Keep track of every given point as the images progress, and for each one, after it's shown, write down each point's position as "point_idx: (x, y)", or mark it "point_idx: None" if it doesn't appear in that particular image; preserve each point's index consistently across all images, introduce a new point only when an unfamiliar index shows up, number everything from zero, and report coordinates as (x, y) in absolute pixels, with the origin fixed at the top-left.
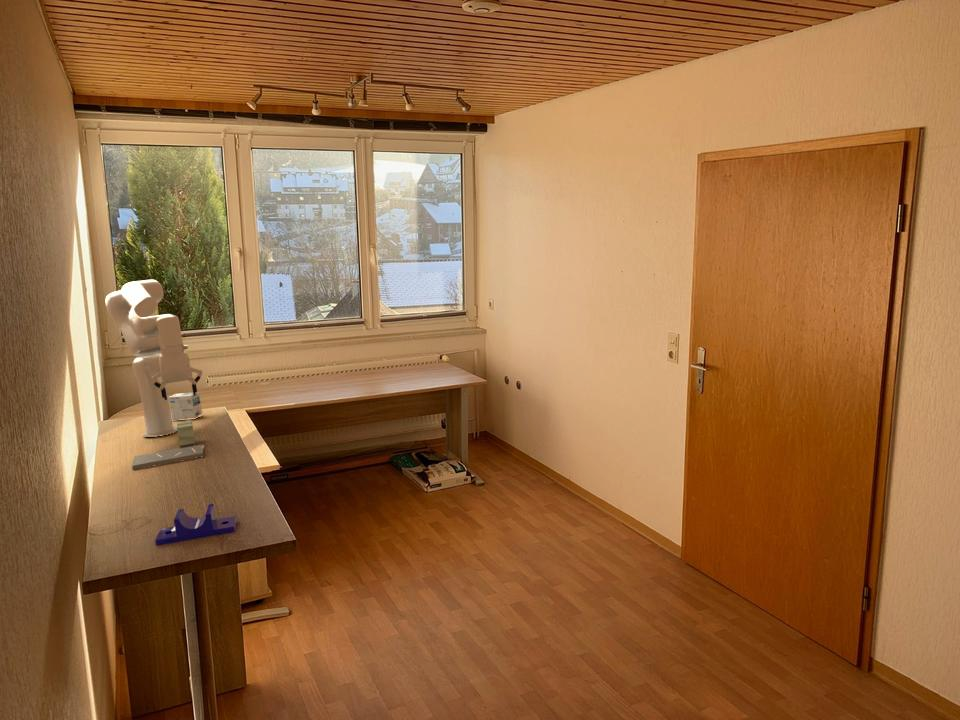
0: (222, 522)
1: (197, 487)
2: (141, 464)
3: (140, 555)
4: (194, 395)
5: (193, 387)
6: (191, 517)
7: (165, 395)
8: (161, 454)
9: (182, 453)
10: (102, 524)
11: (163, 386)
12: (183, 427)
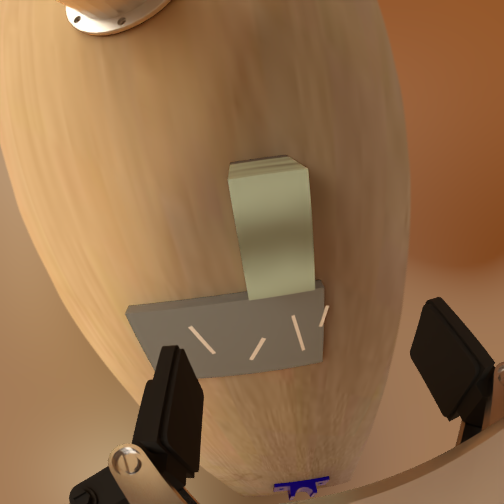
0: (318, 483)
1: (302, 446)
2: None
3: (265, 491)
4: (414, 351)
5: (444, 401)
6: (298, 488)
7: (196, 424)
8: (206, 334)
9: (269, 350)
10: (215, 474)
11: (186, 499)
12: (276, 294)
